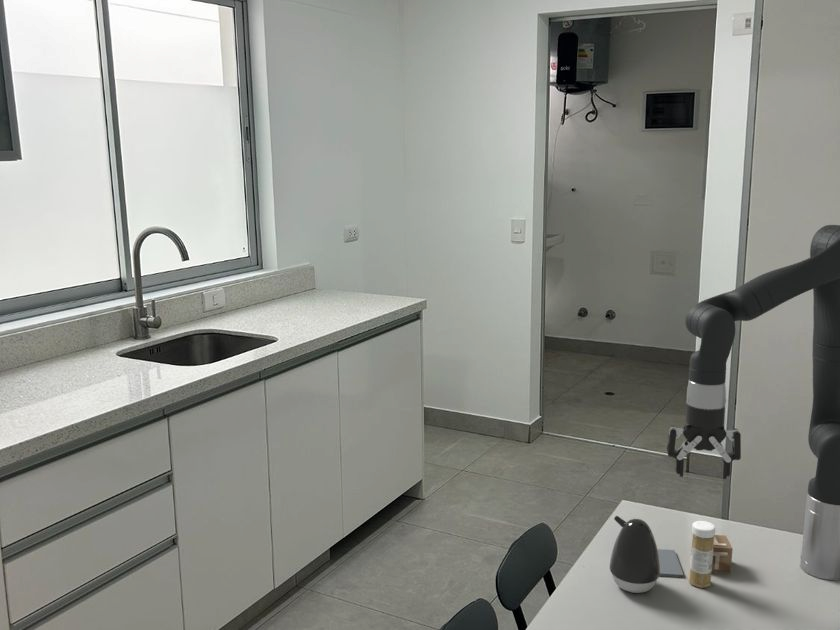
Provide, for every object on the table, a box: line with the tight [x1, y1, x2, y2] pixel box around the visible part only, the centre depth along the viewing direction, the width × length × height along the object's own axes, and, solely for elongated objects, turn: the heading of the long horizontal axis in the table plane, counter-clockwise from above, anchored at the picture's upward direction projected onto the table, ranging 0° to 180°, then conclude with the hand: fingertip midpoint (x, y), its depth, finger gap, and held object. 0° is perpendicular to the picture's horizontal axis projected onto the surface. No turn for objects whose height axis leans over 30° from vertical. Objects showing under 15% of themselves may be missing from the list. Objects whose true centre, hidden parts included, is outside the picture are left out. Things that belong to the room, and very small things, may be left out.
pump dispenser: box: [609, 515, 660, 594], centre depth 172 cm, size 10×10×15 cm
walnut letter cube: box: [711, 534, 733, 574], centre depth 181 cm, size 6×6×6 cm
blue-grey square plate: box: [657, 548, 684, 578], centre depth 182 cm, size 11×11×1 cm
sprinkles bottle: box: [688, 520, 716, 589], centre depth 173 cm, size 5×5×13 cm
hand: (702, 476), depth 170 cm, fingers open, 8 cm apart
